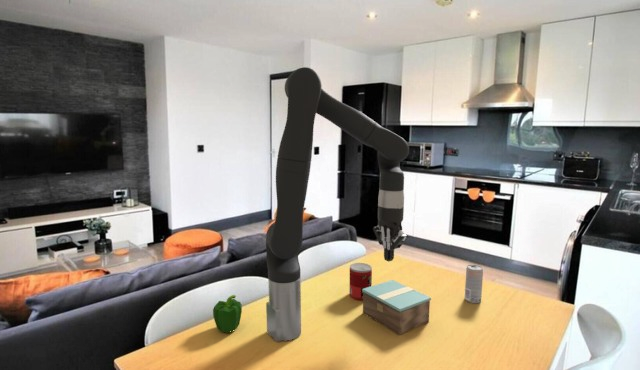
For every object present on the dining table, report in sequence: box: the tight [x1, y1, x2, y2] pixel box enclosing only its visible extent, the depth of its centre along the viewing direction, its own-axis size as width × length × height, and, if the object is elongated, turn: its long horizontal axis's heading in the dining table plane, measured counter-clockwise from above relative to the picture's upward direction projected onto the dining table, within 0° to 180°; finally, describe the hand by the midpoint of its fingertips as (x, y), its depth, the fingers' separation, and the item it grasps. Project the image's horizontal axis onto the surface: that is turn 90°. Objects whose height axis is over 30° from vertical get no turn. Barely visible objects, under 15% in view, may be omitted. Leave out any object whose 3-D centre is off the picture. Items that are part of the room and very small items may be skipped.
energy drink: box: [464, 264, 484, 304], centre depth 128 cm, size 5×5×12 cm
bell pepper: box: [212, 294, 243, 333], centre depth 110 cm, size 8×8×10 cm
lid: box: [362, 279, 432, 312], centre depth 116 cm, size 14×16×1 cm
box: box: [362, 292, 431, 336], centre depth 116 cm, size 13×16×7 cm
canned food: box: [349, 262, 373, 301], centre depth 131 cm, size 8×8×11 cm
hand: (388, 260), depth 112 cm, fingers closed
